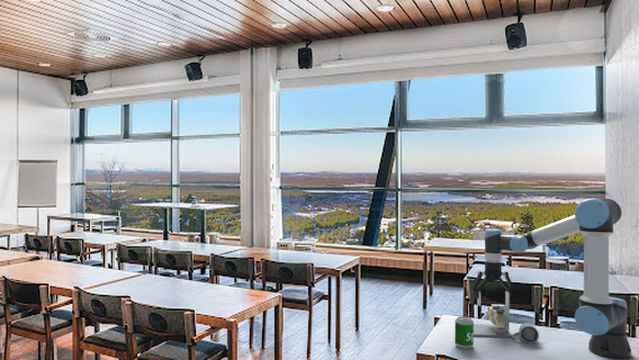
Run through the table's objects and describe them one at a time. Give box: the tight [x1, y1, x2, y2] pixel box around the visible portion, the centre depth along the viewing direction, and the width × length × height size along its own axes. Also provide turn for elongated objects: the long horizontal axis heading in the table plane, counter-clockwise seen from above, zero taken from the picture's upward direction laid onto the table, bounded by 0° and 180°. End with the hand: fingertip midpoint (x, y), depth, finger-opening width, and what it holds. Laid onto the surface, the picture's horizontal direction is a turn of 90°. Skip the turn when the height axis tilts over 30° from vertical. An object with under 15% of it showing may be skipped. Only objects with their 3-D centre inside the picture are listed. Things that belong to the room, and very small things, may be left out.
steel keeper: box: [490, 304, 510, 332], centre depth 209 cm, size 2×8×13 cm, turn 88°
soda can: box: [454, 316, 475, 350], centre depth 191 cm, size 8×8×12 cm
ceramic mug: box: [511, 322, 540, 345], centre depth 200 cm, size 11×8×8 cm
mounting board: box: [474, 323, 513, 339], centre depth 211 cm, size 15×18×4 cm
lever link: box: [487, 305, 505, 328], centre depth 211 cm, size 14×4×8 cm, turn 179°
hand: (493, 305), depth 215 cm, fingers open, 13 cm apart
